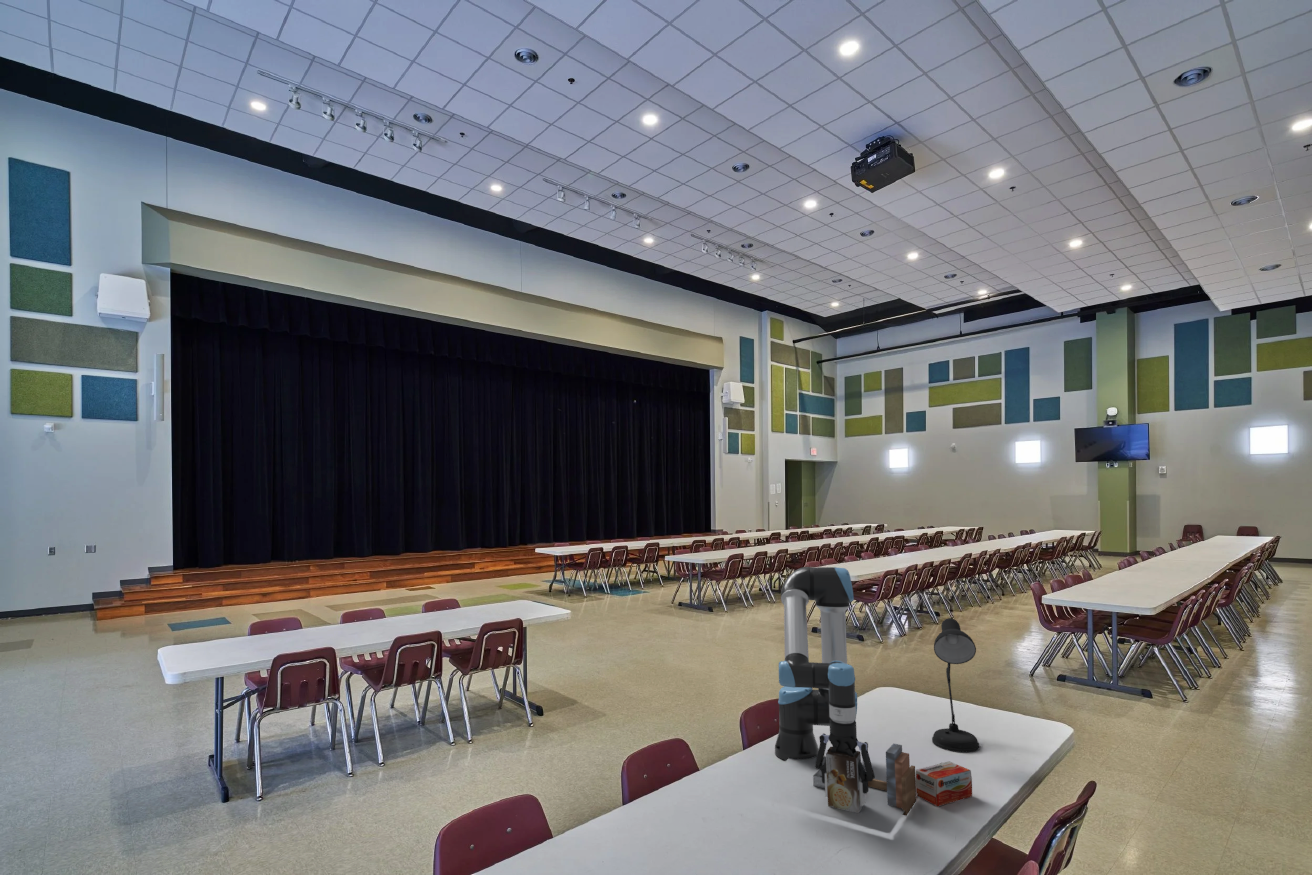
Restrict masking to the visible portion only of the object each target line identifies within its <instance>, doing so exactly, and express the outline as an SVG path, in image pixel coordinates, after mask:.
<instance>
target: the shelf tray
mask: <svg viewBox="0 0 1312 875" xmlns="http://www.w3.org/2000/svg"><path fill="white" fill-rule="evenodd" d="M885 767H886V768H885V770H886V772H885V773H886V781H885V780H880V779H875V778H874V779H873V780H872V781H868V788H874V789H877V790H881V791H886V798H887V805H888V806H891V807H893V808H894V807H895V808H898V809H902V811H903V812H902V814H901V815H902V816H905V817H907V816H908V815H909V813H910V811H911V809H912V808H913V807H914V805H915V804H916V802H917V791H916V766H915V765H911V766H910V753H909V752H903V745H902V744H899V743H892V744H891V746H889V748H888V749H887V750H886V751H885Z"/></svg>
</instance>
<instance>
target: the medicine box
mask: <svg viewBox="0 0 1312 875" xmlns="http://www.w3.org/2000/svg"><path fill="white" fill-rule="evenodd" d="M915 778H916V798H917V797H918V798H919V799H922V800H923V801H926V802H928V803H929V804H932V805H934V806H936V807H941V806H944V805H947V804H953V803H955V802H959V801H962V800H965V799H969V798H972V797H973V778H972V770H971V769H968V768H967V767H963V766H962V765H958V764H957V763H954V762H952V761H944V762H941V763H938V764H933V765H929V766H925V767H922V768H918V769H915Z"/></svg>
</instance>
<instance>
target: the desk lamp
mask: <svg viewBox="0 0 1312 875" xmlns="http://www.w3.org/2000/svg"><path fill="white" fill-rule="evenodd" d="M940 626H941V632H940V633H939V634H937V636H936V637H935V639H934V642H933V651H934V654H935V655H936V657H937V658H938V659H939V660H940V661H942V662H945V663H947V667H946V669H945V671H946V673H945V674H946V680H947V684H948V686H947V687H948V693H949V701H950V702H949V703H950V712H951V723H949V724H948V727H947V728H940V729H937V730H936V731H934V733H933V736H932V737H931V741H932V744H933V745H934V746H936V747H938V748H940V749H943V750H947V751H949V752H954V751H955V752H956V753H973V752H976V751H978V750H979V749H980V743H979V741H978V739H977V738H978V737H976V735H974V734H973V733H971V732H968V731H966V730H963V729H959V725H958V724H957V723H956V719H955V718H956V717H955V710H954V706H953V705H954V704H953V695H952V688H951V687H952V686H951V665H959V664H960V665H961V664H965V663H968V662H970V661H971V660H972V659H973V658H974V657H975V656H976V653H977V647H976V645H975V642H974V640H973V639H972V637H971V636H970V635H969V634H967V633H966V632H964V631H963V630H961V626H960V623H959V622H958V620H956V619H954V618H951V617H950V618H946V619H944V620H943V621H942V623H941V625H940Z"/></svg>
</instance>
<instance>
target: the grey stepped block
mask: <svg viewBox="0 0 1312 875" xmlns="http://www.w3.org/2000/svg"><path fill="white" fill-rule="evenodd" d="M812 783H813V787H817V788H821V789H824V790H825V783H822V772H821V770H820V769H818V770H817V771H816V772H815V773H814V774H813V775H812Z"/></svg>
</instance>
